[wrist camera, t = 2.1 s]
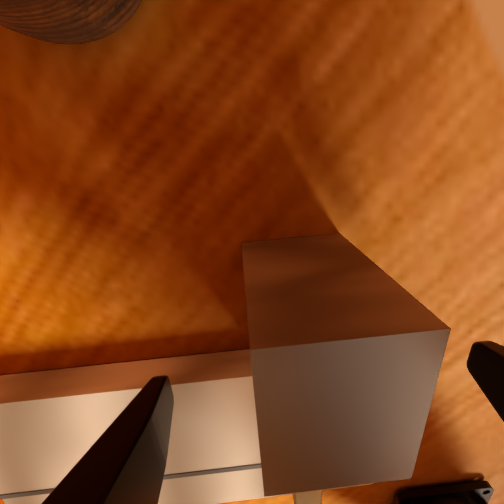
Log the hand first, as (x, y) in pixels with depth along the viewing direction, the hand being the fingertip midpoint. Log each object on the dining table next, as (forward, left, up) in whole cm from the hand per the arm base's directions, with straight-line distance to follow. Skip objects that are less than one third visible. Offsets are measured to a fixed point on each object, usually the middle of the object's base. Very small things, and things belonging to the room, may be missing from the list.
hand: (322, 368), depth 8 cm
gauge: (0, +4, -4) cm, 6 cm away
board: (+6, +7, -4) cm, 10 cm away
